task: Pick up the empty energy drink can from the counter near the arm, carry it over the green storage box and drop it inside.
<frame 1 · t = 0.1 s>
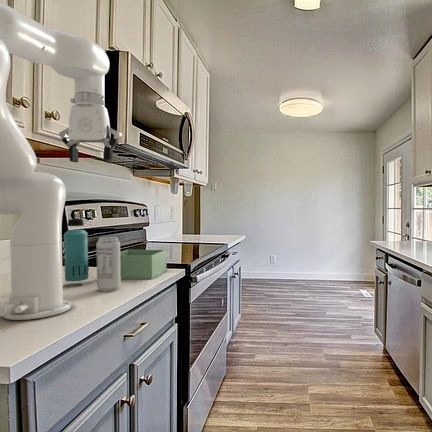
hand: (91, 161, 104), 37 cm above the worktop, tool pointing down, fingers open, 9 cm apart
green storage box: (139, 274, 124), on the worktop
beverage bottle: (76, 284, 109), on the worktop
energy drink can: (109, 290, 102), on the worktop
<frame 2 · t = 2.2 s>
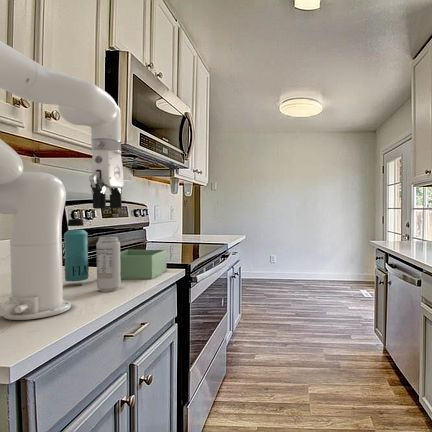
hand: (108, 208, 102), 23 cm above the worktop, tool pointing down, fingers open, 9 cm apart
nothing on the worktop moved.
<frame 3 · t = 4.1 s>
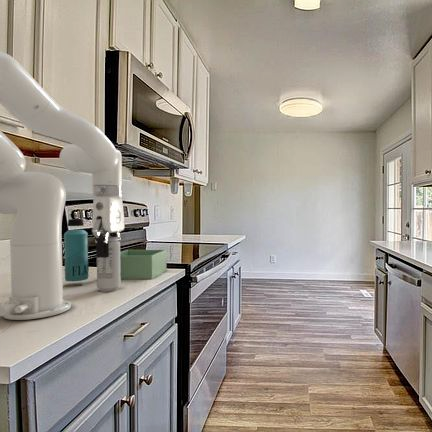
hand: (108, 254, 102), 10 cm above the worktop, tool pointing down, fingers closed on energy drink can, 6 cm apart
energy drink can: (109, 290, 102), on the worktop, touching gripper
everything else where it was.
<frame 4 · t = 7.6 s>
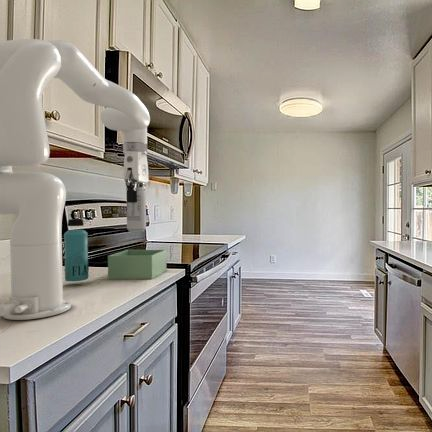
hand: (136, 202, 121), 25 cm above the worktop, tool pointing down, fingers closed on energy drink can, 6 cm apart
energy drink can: (136, 231, 122), point 15 cm above the worktop, touching gripper
everything else where it was.
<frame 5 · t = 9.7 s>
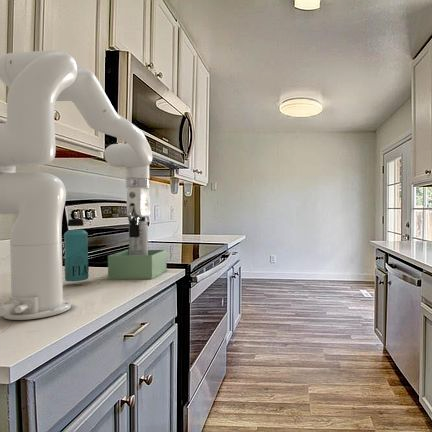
hand: (138, 235, 123), 14 cm above the worktop, tool pointing down, fingers closed on energy drink can, 6 cm apart
energy drink can: (138, 264, 124), point 3 cm above the worktop, touching gripper
everything else where it was.
when the fingers open (11 cm above the worktop, at t = 11.2 s): energy drink can stays where it is, resting on green storage box.
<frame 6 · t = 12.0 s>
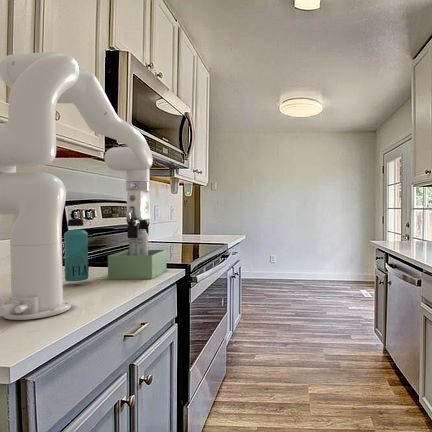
hand: (138, 236, 123), 13 cm above the worktop, tool pointing down, fingers open, 9 cm apart
energy drink can: (139, 273, 124), resting on green storage box
everything else where it was.
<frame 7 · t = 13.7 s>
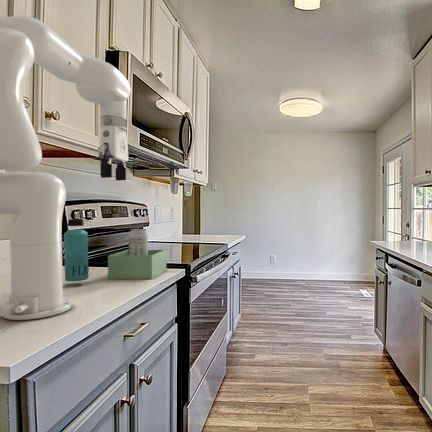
hand: (113, 179, 113), 32 cm above the worktop, tool pointing down, fingers open, 9 cm apart
nothing on the worktop moved.
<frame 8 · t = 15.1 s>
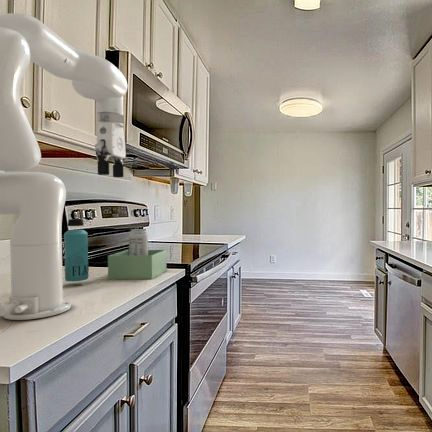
hand: (111, 176, 112), 33 cm above the worktop, tool pointing down, fingers open, 9 cm apart
nothing on the worktop moved.
at the end: energy drink can inside the target area in the green storage box (0.1 cm from its centre), point 0.4 cm above the green storage box's base; the gripper is holding nothing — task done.
